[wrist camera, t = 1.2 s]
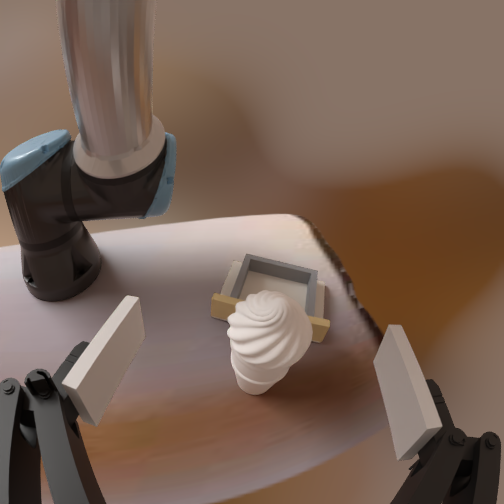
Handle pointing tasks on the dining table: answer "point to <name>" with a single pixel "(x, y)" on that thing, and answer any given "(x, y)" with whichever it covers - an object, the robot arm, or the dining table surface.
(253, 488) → the dining table surface
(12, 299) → the dining table surface
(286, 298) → the soft serve ice cream cone
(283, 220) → the dining table surface
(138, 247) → the dining table surface
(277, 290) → the grey shallow tray
